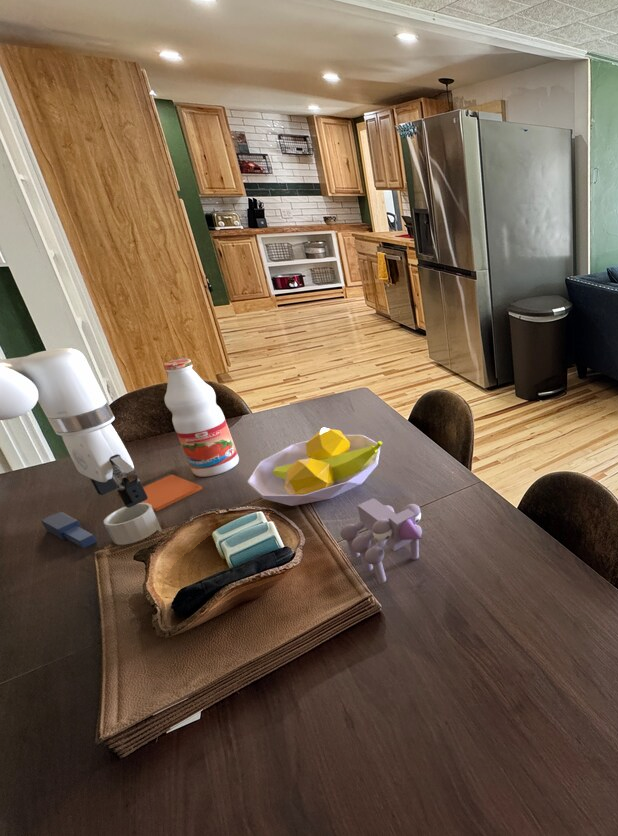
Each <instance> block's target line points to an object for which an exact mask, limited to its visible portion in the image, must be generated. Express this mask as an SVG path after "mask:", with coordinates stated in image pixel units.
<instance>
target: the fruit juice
mask: <svg viewBox="0 0 618 836" xmlns="http://www.w3.org/2000/svg"><path fill="white" fill-rule="evenodd" d="M193 366H194V365H193V362H192V360H191V359H190V358H178V359H172V360H169V361H166V362H164V363H163V369H164V371H165V372H167V384H166V385H167V386H166V392H165V394H164V404H165V407H166V408H167V409H168V411H170V412H171V414H172V418H171V421H172V425H173V428H174V431H175V433H176V436H177V438H178V441H179V443H180V445H181V448H182V451H183V453H184V455H185V458H186V460H187V462H188V465H189V467H190V471H191V472H192V473H193V475H195V476H197V477H201V478H203V477H204V478H206V477H213V476H217V475H220V474H223V473H225V472H228V471H230V470H231V469H233V468H235V467H236V466H237V465H238V464H239V463H240V457H239V454H238V450H237V448H236V445H235V443H234V440H233V437H232V434H231V432H230V428H229V425H228V423H227V421H226V417H225V415H224V412H223V410H222V408H221V407H220V406H219V405H218V404H217V395H216V392H215V389H214V388H213V387H212V386H211V385H210V384H208V383H206V382H205V381H204V379H202V377H201V376H200V375H199V374H198V373H197V372H196V371H195V370H194V369H193Z"/></svg>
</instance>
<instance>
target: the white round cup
mask: <svg viewBox="0 0 618 836" xmlns="http://www.w3.org/2000/svg"><path fill="white" fill-rule="evenodd" d="M103 525H104V527H105V529H106V530H107V532H108V535H109V536H110V538H111V540H112V543H113V544H115V545H119V546H121V545H122V546H123V545H129V544H134V543H137V542H139V541H142V540H144V539H146V538H148V537H151V535H153V534H154V533H156V532H157V531H158V532H160V533H162V532H163V528H162V525H161V523H160V520H159V519H158V517H157V514H156V511H154V510H153V508H152V506H151V504H148V503H138V504H136V505H134V506H132V507H130V508H127V507H126V506H122V507H121V508H118V509H116V510H114V511H113V512H111V513H109V514H108V515H107V516H106V517H105V518H104V519H103ZM161 531H162V532H161Z"/></svg>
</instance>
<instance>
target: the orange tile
mask: <svg viewBox="0 0 618 836" xmlns="http://www.w3.org/2000/svg"><path fill="white" fill-rule="evenodd" d="M142 487H143V489H144V491H145V493H146V495H147V497H148V499H147V500H145V501H143V502H141V503H148V504H151V506H152V508H153V510H154V512H158V511H160V510H163V509H164V508H166V507H169V506H170V505H172V504H174V503H177V502H179V501H181V500H183V499H185V498H187V497H189V496H191V495H193V494H195V493H197V492H199V491H202V490H203V487H202V485H200V484H197V483H194V482H192V481H189V480H187V479H184V478H182V477H179V476H177V475H174V474H169V475H167V476H165V477H164V478H163V477H162V478H161V479H158V480H156V481H154V482H152V483H149V484H147V485H145V486H142Z"/></svg>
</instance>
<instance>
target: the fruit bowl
mask: <svg viewBox="0 0 618 836" xmlns="http://www.w3.org/2000/svg"><path fill="white" fill-rule="evenodd" d="M383 445H384V443H383V442H382V441H381V440H378V441H375V440H373V439H371V438H370V437H368V436H366V435H364V434H343V432H342V431H341V430H340V429H334V428H327V427H322V428H320V430H318V432H316V434H314V435H313V436H312V437H311V438H310V439H309V440H304V441H301V442H297V443H293V444H290V445H289V446H287V447H284V448H283V449H282V450H280V451H278V452H276V453H274V454H272V455H270V456H268V457H266V458H264V459H262V460H261V461H260V462H259V463H258V464H257V466H256V467H255V469H254V471H253V472H252V473H251V475H250V477H249V478H248V480H246V481H247V484H248V485H250V487H251V488H252V489H253V490H254V491H255V492H256V493H257V494H258V495H259V497H261V498H262V499H263V500H265V501H266V500H267V501H271V502H274V503H277V504H278V503H279V504H281V505H286V506H291V507H294V506H299V505H305V504H310V503H316V502H320V501H325V500H330V499H332V498H334V497H336V496H339V495H341V494H343V493H346V492H347V491H349V490H352V489H354V488H357V487H358V486H361V485H362V484H363V483H364V482H365V480H366V479H367V478H368V477H369V476H370V475H371V473H372V472H373V471H374V470H375V469H376V468H377V466H378V465H379V459H380V453H381V446H383Z"/></svg>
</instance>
